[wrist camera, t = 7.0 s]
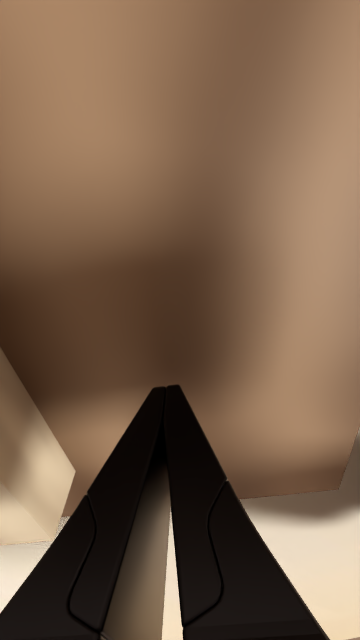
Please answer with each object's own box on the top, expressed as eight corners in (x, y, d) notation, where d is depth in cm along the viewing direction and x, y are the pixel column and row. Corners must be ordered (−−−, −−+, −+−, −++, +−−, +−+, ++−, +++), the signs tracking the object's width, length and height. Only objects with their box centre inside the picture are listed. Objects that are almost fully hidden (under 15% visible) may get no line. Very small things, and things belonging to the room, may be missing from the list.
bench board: (452, -60, 5) (546, -136, 4) (323, 460, 14) (338, 489, 13) (-573, 137, 6) (-765, 129, 5) (-87, 503, 15) (-111, 533, 14)
